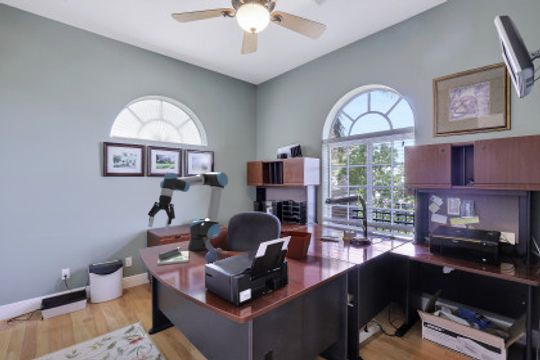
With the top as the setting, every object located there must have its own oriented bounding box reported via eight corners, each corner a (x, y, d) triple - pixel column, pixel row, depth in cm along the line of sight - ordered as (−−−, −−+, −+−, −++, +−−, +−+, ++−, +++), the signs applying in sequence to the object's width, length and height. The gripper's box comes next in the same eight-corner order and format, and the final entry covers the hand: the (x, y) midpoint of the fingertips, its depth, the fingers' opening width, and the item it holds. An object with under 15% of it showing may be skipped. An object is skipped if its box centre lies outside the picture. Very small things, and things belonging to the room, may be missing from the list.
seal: (219, 266, 170) (219, 236, 170) (202, 264, 173) (203, 235, 173) (225, 262, 178) (225, 233, 178) (209, 260, 181) (209, 232, 181)
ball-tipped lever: (178, 252, 194) (178, 246, 194) (182, 253, 192) (182, 247, 192) (158, 259, 177) (158, 253, 177) (161, 260, 175) (161, 254, 175)
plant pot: (289, 250, 206) (289, 230, 205) (311, 254, 197) (312, 232, 197) (279, 257, 189) (279, 235, 188) (304, 261, 180) (304, 238, 180)
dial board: (188, 252, 199) (188, 250, 199) (188, 262, 178) (188, 259, 178) (160, 255, 193) (160, 252, 193) (157, 264, 172) (157, 262, 172)
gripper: (147, 193, 168) (138, 225, 163) (177, 196, 159) (169, 230, 154) (155, 195, 175) (147, 226, 170) (185, 198, 166) (177, 231, 161)
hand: (158, 228), depth 162 cm, fingers open, 13 cm apart
